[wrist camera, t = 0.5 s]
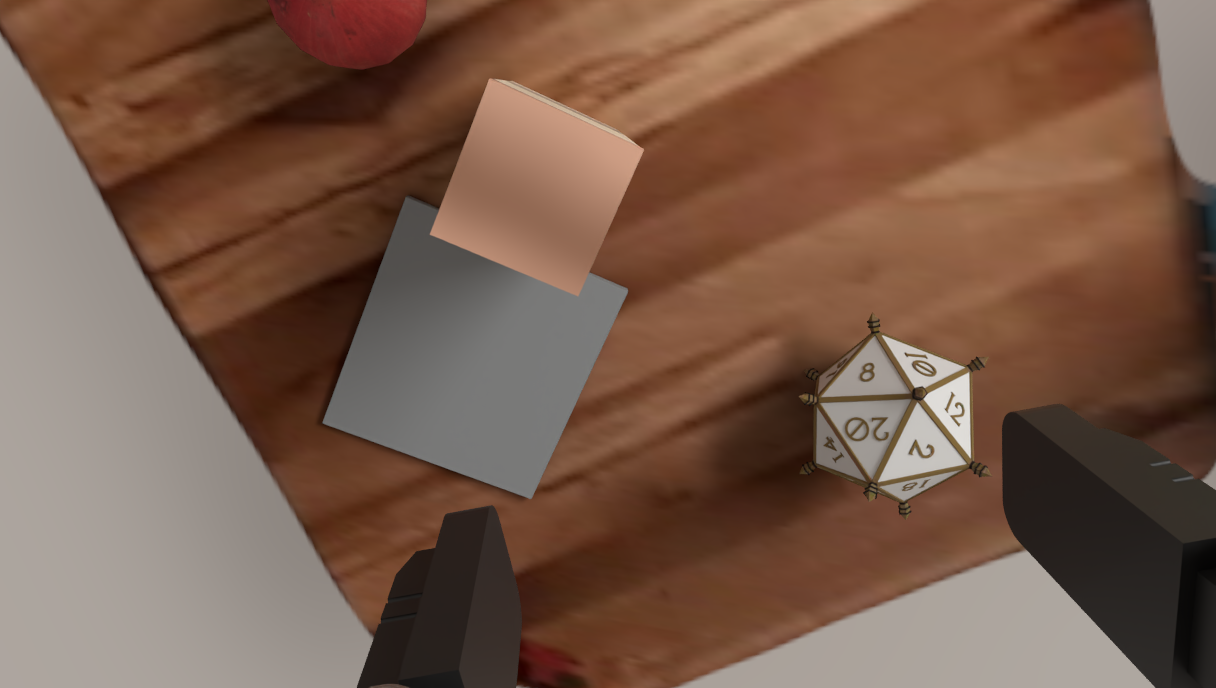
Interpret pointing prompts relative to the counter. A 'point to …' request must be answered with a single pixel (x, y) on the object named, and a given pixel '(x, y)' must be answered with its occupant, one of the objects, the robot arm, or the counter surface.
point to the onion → (351, 28)
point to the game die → (893, 418)
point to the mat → (468, 358)
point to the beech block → (536, 186)
